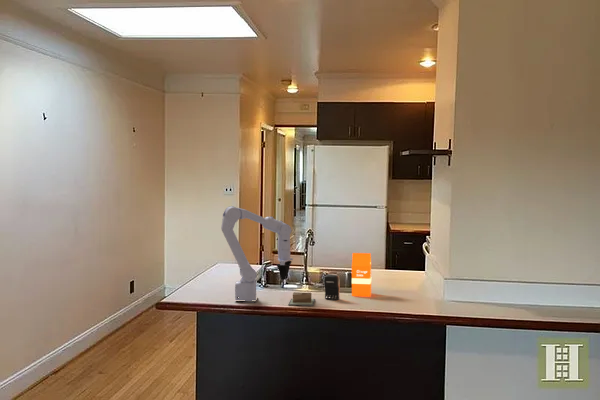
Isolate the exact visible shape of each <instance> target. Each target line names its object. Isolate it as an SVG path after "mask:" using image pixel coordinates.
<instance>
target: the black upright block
mask: <svg viewBox="0 0 600 400" xmlns="http://www.w3.org/2000/svg"><path fill="white" fill-rule="evenodd" d="M340 284H341V283H340V276H339V275H337V274H330V273H329V274H326V275H324V277H323V286H324V291H325V292H324V299H325V300H327V301H328V300H329V301H338V300H340V289H341V287H340Z"/></svg>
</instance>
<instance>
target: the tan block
mask: <svg viewBox="0 0 600 400" xmlns="http://www.w3.org/2000/svg"><path fill="white" fill-rule="evenodd" d="M292 299H293V302H297V303H311V299H312V292H294V291H293V293H292Z"/></svg>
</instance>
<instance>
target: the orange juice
mask: <svg viewBox="0 0 600 400" xmlns="http://www.w3.org/2000/svg"><path fill="white" fill-rule="evenodd" d="M351 259H352V260H351V297H363V298H365V297H366V298H367V297H368V298H371V296H372V254H371V252H368V253H367V252H352V258H351Z"/></svg>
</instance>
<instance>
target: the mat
mask: <svg viewBox="0 0 600 400" xmlns="http://www.w3.org/2000/svg"><path fill="white" fill-rule="evenodd" d="M315 302H316V299H315V298H311V303H297V302H293V298H290V300H289V302H288V305H302V306H301V307H314V305H315Z"/></svg>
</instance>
